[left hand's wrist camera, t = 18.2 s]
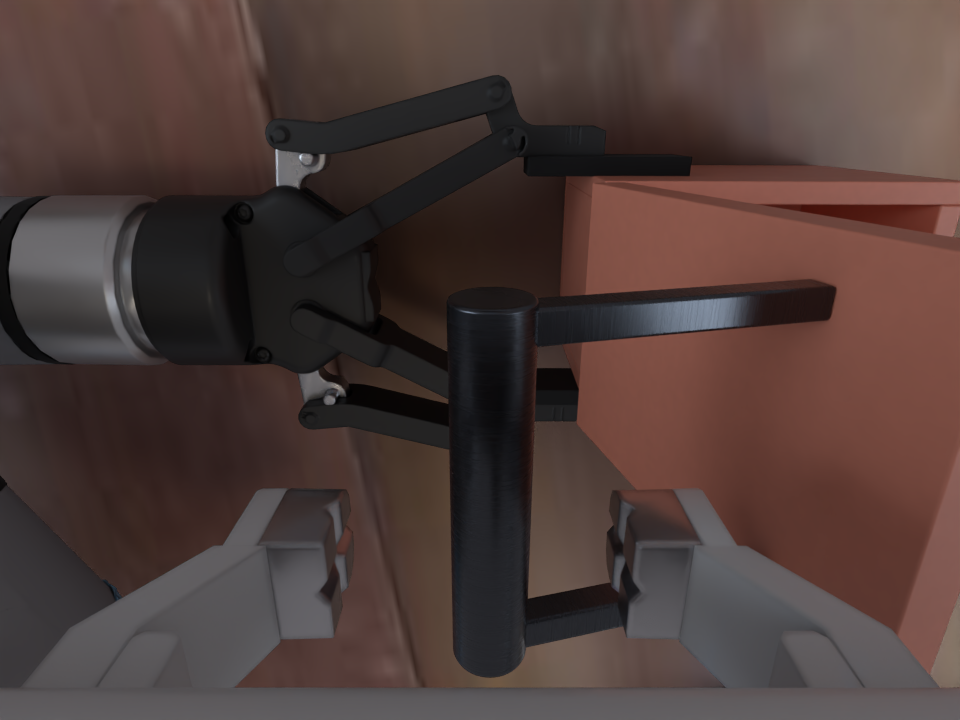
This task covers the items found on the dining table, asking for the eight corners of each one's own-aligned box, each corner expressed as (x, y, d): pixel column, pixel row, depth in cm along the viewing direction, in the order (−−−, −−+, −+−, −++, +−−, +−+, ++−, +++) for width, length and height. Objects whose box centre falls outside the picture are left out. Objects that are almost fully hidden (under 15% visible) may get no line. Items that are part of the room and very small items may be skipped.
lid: (1084, 257, 9) (507, 298, 7) (912, 724, 12) (496, 849, 10) (624, 182, 21) (376, 187, 19) (604, 420, 25) (392, 447, 23)
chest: (816, 165, 32) (970, 181, 22) (783, 334, 35) (903, 416, 25) (566, 164, 32) (604, 180, 22) (557, 333, 35) (587, 415, 25)
